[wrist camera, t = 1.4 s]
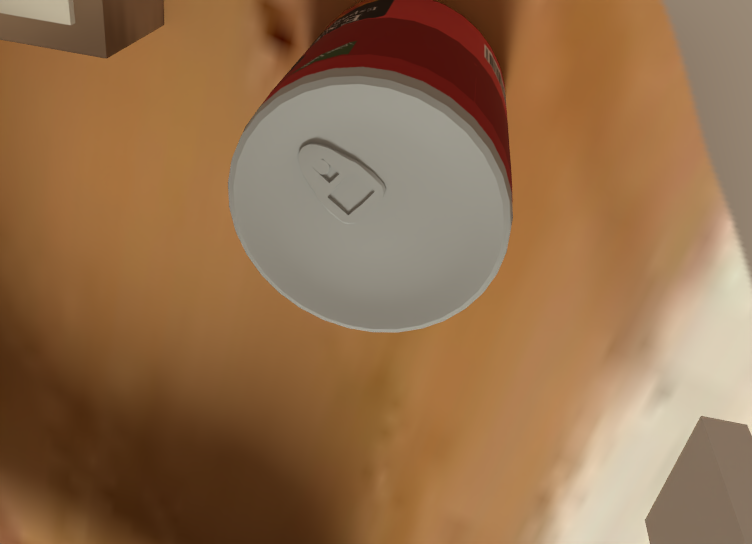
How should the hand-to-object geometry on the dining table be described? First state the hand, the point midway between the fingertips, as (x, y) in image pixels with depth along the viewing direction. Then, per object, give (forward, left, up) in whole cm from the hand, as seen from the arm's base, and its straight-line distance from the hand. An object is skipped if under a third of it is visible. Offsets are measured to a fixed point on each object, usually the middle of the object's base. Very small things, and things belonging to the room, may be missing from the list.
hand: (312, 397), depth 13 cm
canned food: (0, 0, -19) cm, 19 cm away
